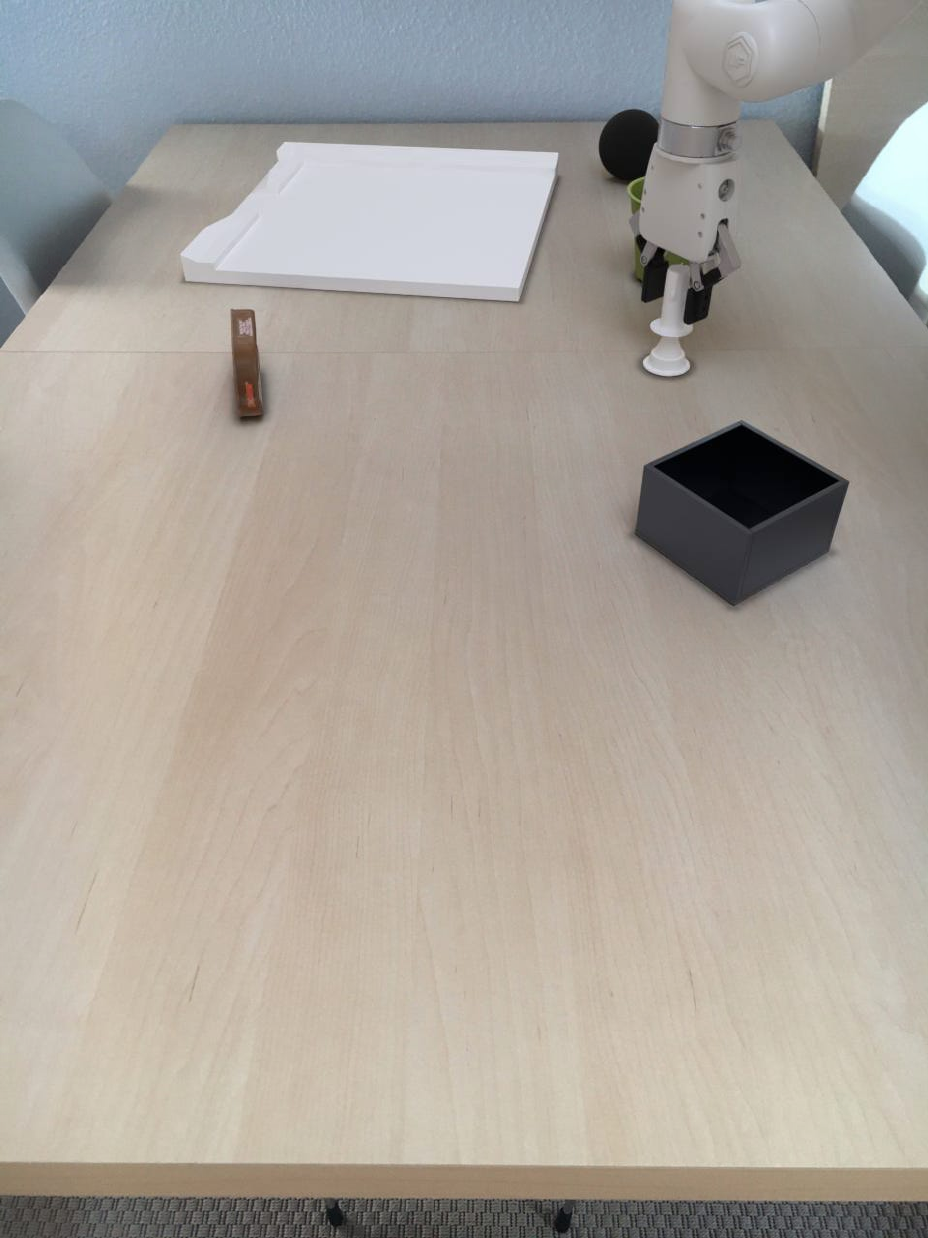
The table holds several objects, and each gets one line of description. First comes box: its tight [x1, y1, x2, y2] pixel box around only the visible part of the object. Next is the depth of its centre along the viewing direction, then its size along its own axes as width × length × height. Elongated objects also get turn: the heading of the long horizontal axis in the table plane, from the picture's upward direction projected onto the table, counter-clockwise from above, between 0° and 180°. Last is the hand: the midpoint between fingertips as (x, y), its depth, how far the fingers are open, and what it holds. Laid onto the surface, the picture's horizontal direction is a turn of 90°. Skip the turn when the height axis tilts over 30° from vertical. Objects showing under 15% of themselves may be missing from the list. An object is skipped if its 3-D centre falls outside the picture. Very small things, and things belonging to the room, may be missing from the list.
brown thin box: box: [230, 308, 264, 418], centre depth 107 cm, size 15×3×8 cm, turn 10°
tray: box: [179, 141, 559, 303], centre depth 144 cm, size 45×45×4 cm
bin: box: [634, 419, 850, 606], centre depth 87 cm, size 12×12×8 cm
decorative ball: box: [598, 108, 659, 181], centre depth 154 cm, size 10×10×10 cm
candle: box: [642, 262, 694, 377], centre depth 109 cm, size 5×5×12 cm
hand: (673, 308), depth 109 cm, fingers open, 5 cm apart
